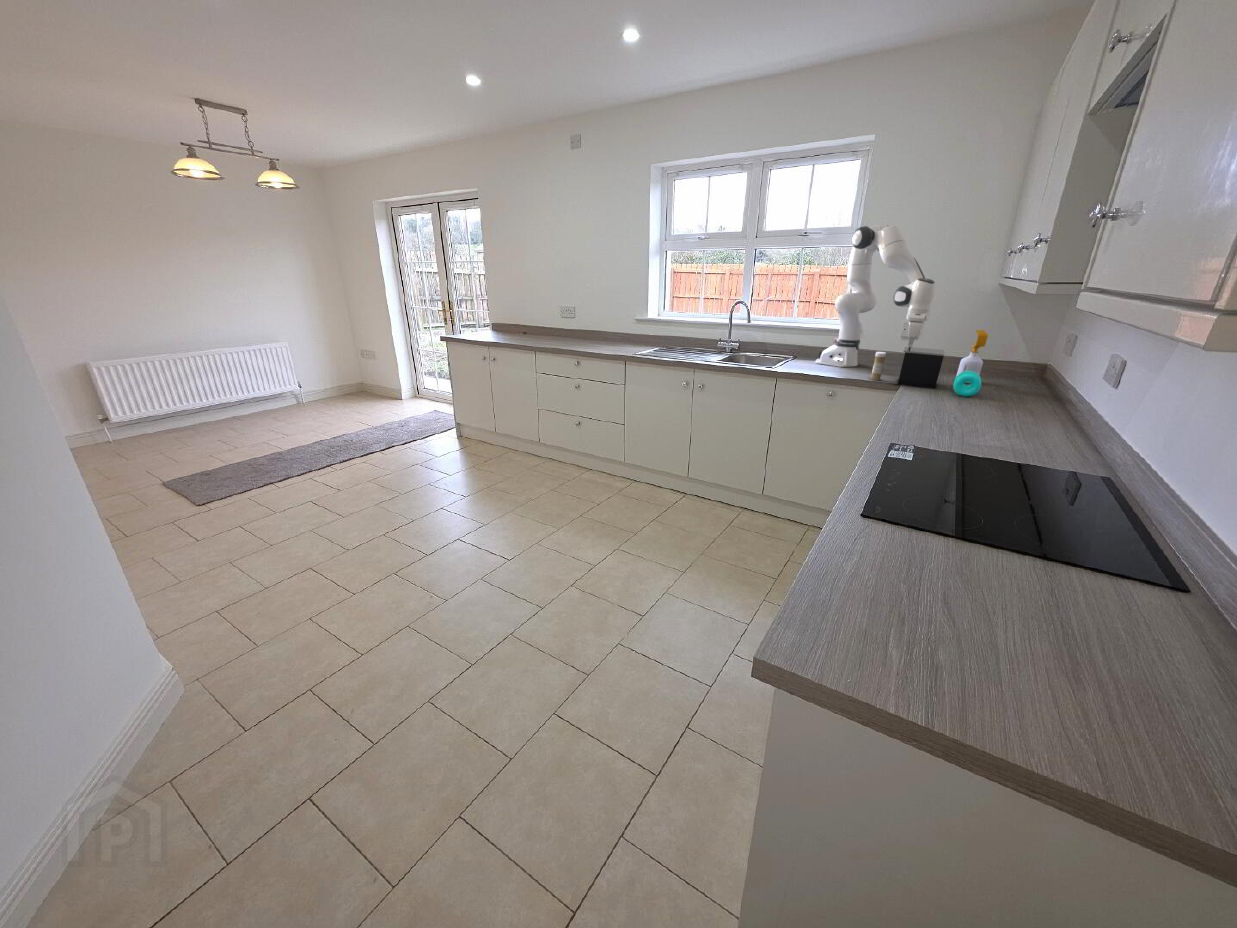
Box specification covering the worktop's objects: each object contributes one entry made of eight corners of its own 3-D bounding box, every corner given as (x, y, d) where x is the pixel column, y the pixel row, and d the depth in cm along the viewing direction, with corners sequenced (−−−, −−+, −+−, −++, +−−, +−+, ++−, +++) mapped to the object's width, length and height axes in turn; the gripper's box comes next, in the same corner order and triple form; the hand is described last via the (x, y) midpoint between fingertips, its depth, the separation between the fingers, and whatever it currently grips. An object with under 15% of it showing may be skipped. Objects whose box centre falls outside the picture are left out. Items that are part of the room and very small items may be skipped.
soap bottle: (970, 379, 244) (985, 329, 234) (980, 384, 236) (996, 332, 226) (951, 379, 245) (965, 329, 235) (961, 383, 236) (976, 332, 227)
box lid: (903, 352, 228) (905, 341, 226) (904, 348, 238) (907, 338, 236) (943, 356, 220) (946, 344, 218) (943, 351, 230) (946, 341, 228)
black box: (897, 384, 234) (905, 352, 228) (899, 379, 244) (906, 348, 238) (935, 388, 226) (943, 356, 220) (935, 383, 236) (943, 351, 230)
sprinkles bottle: (872, 377, 247) (878, 351, 241) (882, 379, 243) (888, 352, 238) (868, 379, 244) (874, 352, 239) (877, 380, 241) (883, 353, 235)
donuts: (977, 393, 219) (984, 371, 215) (977, 398, 211) (984, 376, 207) (951, 390, 224) (957, 369, 220) (950, 395, 216) (956, 373, 212)
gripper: (910, 313, 235) (903, 342, 241) (908, 317, 219) (901, 348, 225) (925, 314, 232) (918, 343, 238) (924, 318, 216) (917, 349, 222)
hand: (910, 345), depth 231 cm, fingers closed on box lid, 5 cm apart
